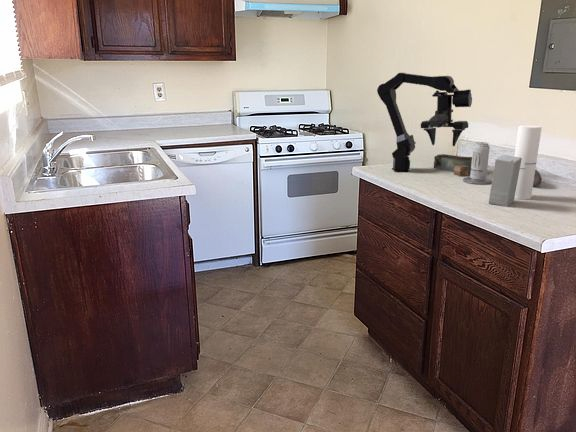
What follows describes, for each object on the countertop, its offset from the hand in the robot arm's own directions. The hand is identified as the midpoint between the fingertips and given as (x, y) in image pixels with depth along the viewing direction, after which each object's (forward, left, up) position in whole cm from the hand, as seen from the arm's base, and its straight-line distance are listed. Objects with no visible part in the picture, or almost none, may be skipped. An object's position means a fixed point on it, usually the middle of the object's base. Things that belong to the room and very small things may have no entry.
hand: (443, 145), depth 203 cm
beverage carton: (+11, +10, -13) cm, 20 cm away
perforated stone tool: (+29, -19, -13) cm, 36 cm away
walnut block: (+9, 0, -13) cm, 15 cm away
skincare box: (+6, -43, -13) cm, 46 cm away
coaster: (+11, -12, -13) cm, 21 cm away
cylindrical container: (+16, -36, -13) cm, 42 cm away
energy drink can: (+11, -13, -12) cm, 21 cm away
